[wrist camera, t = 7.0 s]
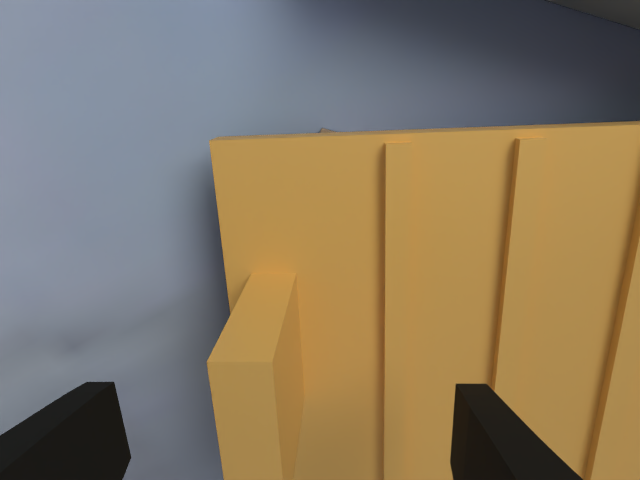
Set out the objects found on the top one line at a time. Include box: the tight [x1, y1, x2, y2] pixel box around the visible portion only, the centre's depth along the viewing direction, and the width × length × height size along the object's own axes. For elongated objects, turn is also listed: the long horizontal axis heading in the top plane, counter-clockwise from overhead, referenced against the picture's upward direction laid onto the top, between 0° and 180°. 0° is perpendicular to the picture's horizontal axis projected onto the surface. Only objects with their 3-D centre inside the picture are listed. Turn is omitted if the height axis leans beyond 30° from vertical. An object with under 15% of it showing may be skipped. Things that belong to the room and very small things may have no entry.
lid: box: [207, 121, 640, 480], centre depth 11 cm, size 15×11×6 cm
